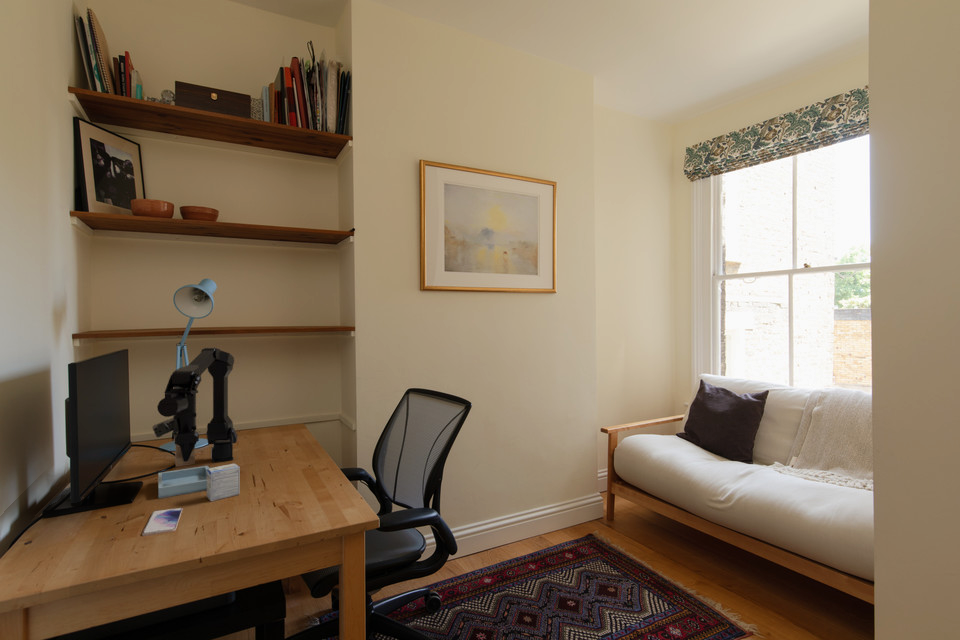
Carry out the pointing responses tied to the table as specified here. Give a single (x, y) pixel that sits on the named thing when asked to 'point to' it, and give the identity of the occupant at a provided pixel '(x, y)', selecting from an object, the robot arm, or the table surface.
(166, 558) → the table surface
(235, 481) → the medicine box
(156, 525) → the smartphone
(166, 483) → the tray
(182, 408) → the robot arm
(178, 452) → the walnut block
